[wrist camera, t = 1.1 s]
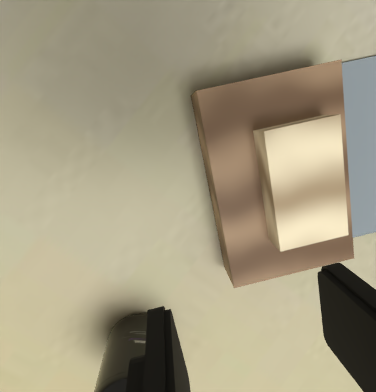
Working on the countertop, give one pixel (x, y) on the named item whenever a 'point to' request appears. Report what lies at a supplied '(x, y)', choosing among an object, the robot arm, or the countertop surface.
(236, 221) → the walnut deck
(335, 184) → the maple tile
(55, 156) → the countertop surface
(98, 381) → the supplement bottle
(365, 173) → the slate mat
